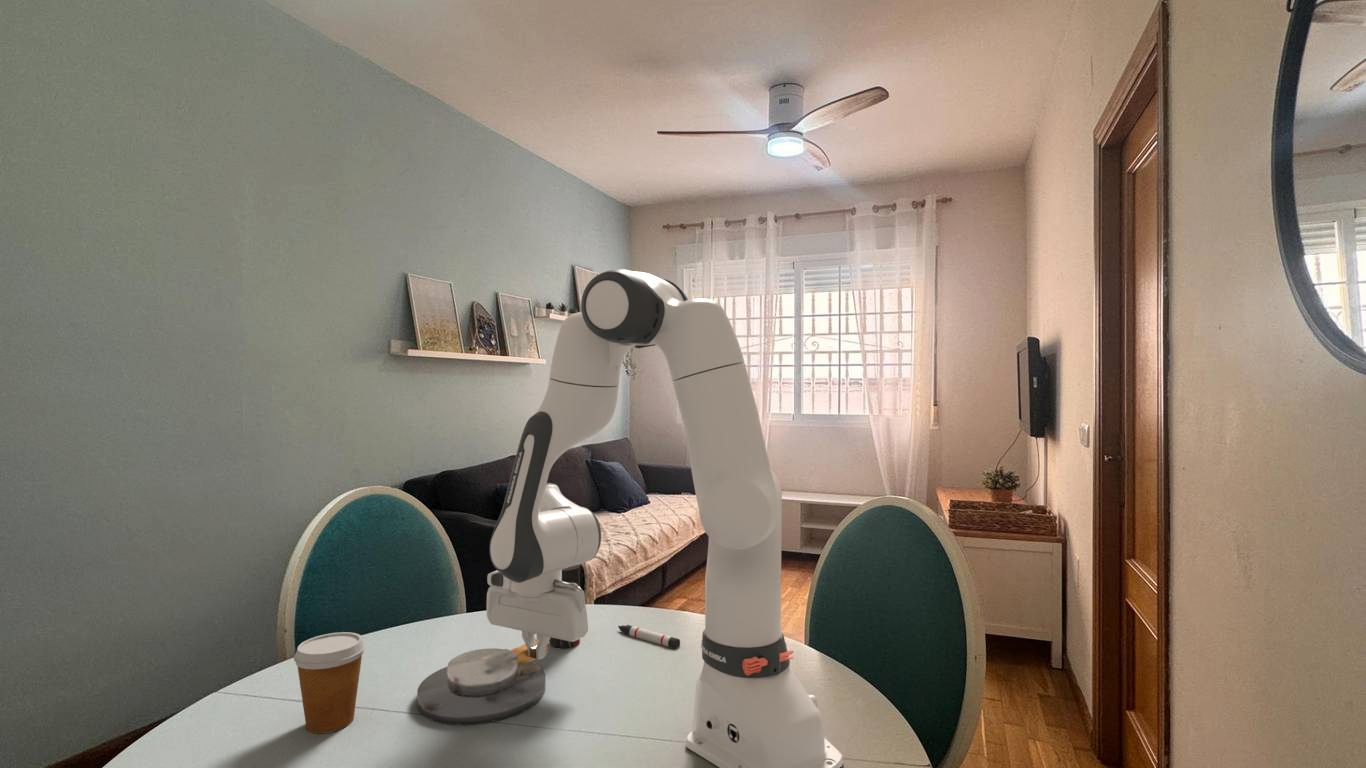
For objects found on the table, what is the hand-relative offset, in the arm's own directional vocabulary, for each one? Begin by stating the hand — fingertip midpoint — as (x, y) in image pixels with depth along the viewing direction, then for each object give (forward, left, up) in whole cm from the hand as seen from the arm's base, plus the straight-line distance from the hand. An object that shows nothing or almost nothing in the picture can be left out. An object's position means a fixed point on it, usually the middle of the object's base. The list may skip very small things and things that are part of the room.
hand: (536, 657), depth 115 cm
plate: (-2, +10, -4) cm, 10 cm away
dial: (0, +6, -1) cm, 6 cm away
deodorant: (+12, -9, -4) cm, 16 cm away
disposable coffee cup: (0, +32, -4) cm, 32 cm away
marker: (+6, -24, -4) cm, 26 cm away
